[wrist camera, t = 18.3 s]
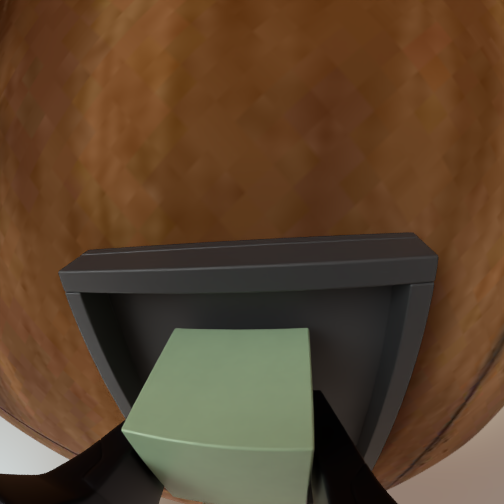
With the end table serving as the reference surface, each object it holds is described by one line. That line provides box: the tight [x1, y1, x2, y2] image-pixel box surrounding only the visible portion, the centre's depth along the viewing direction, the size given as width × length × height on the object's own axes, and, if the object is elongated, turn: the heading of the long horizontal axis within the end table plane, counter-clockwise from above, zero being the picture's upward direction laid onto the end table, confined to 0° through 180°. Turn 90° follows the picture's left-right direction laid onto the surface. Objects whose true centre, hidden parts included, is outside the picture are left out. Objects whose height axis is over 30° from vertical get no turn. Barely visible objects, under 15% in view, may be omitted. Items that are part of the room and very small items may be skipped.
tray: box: [59, 233, 438, 504], centre depth 12 cm, size 18×12×2 cm, turn 6°
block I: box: [122, 328, 315, 504], centre depth 8 cm, size 4×4×4 cm
